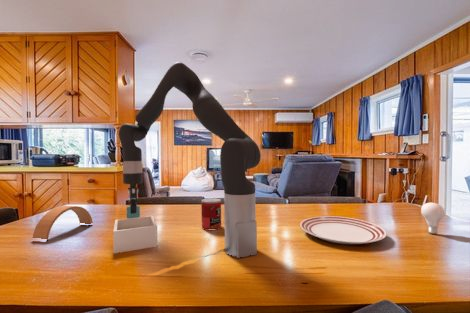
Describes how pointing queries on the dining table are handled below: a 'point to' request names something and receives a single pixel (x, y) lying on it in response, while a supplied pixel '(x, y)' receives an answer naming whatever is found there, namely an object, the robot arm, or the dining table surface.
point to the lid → (134, 213)
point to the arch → (51, 216)
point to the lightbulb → (432, 216)
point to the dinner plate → (343, 230)
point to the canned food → (211, 213)
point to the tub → (134, 234)
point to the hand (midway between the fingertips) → (133, 211)
